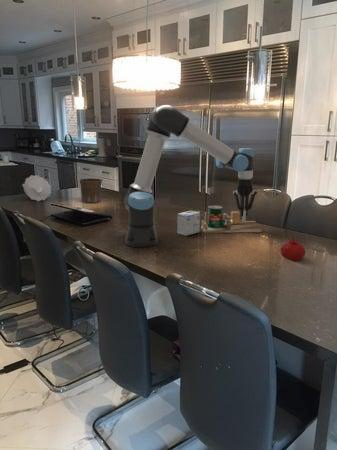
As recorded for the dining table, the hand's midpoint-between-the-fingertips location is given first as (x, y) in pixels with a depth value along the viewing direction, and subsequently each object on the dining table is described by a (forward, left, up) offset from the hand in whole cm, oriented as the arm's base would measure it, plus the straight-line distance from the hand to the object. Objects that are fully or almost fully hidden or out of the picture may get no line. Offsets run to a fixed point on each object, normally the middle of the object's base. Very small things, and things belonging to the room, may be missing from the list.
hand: (243, 222), depth 199 cm
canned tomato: (0, +16, -3) cm, 16 cm away
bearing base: (0, +7, -4) cm, 8 cm away
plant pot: (+82, +89, -5) cm, 121 cm away
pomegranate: (-46, -7, -5) cm, 47 cm away
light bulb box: (-4, +31, -5) cm, 31 cm away
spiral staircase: (+94, +130, -5) cm, 160 cm away
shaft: (0, +7, -3) cm, 8 cm away
